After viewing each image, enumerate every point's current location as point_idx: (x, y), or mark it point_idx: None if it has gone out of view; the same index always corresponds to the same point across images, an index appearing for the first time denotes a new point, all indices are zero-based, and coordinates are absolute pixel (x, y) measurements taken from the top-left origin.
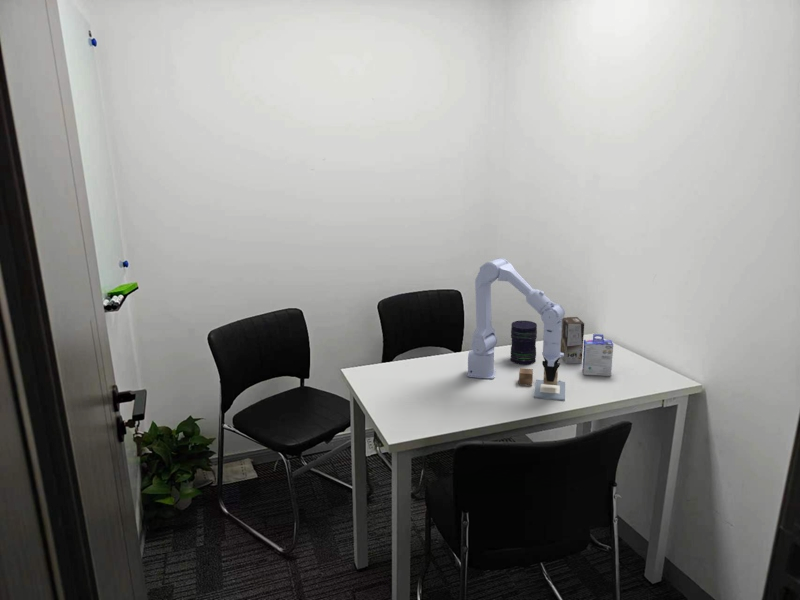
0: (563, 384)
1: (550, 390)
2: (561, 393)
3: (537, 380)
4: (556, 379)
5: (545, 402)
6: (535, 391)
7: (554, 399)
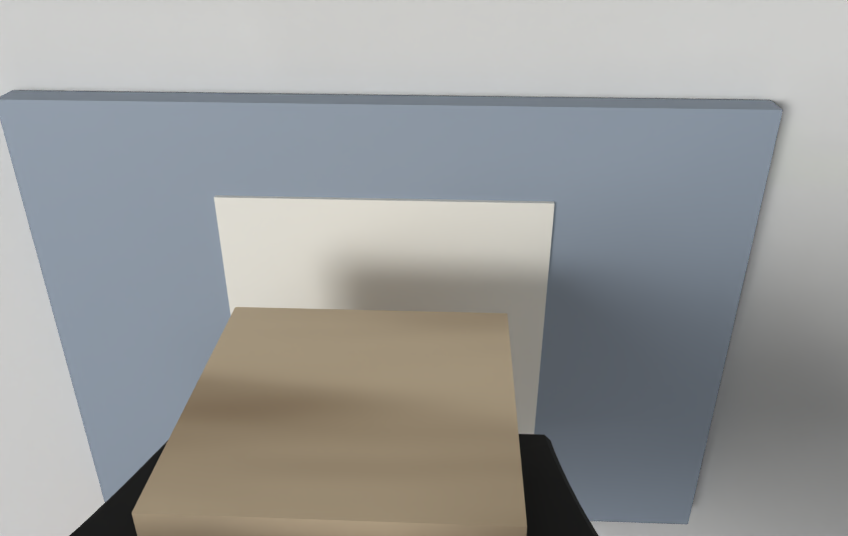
0: (125, 132)
1: None
2: (537, 170)
3: None
4: (515, 413)
5: (824, 377)
6: None
7: (738, 267)
